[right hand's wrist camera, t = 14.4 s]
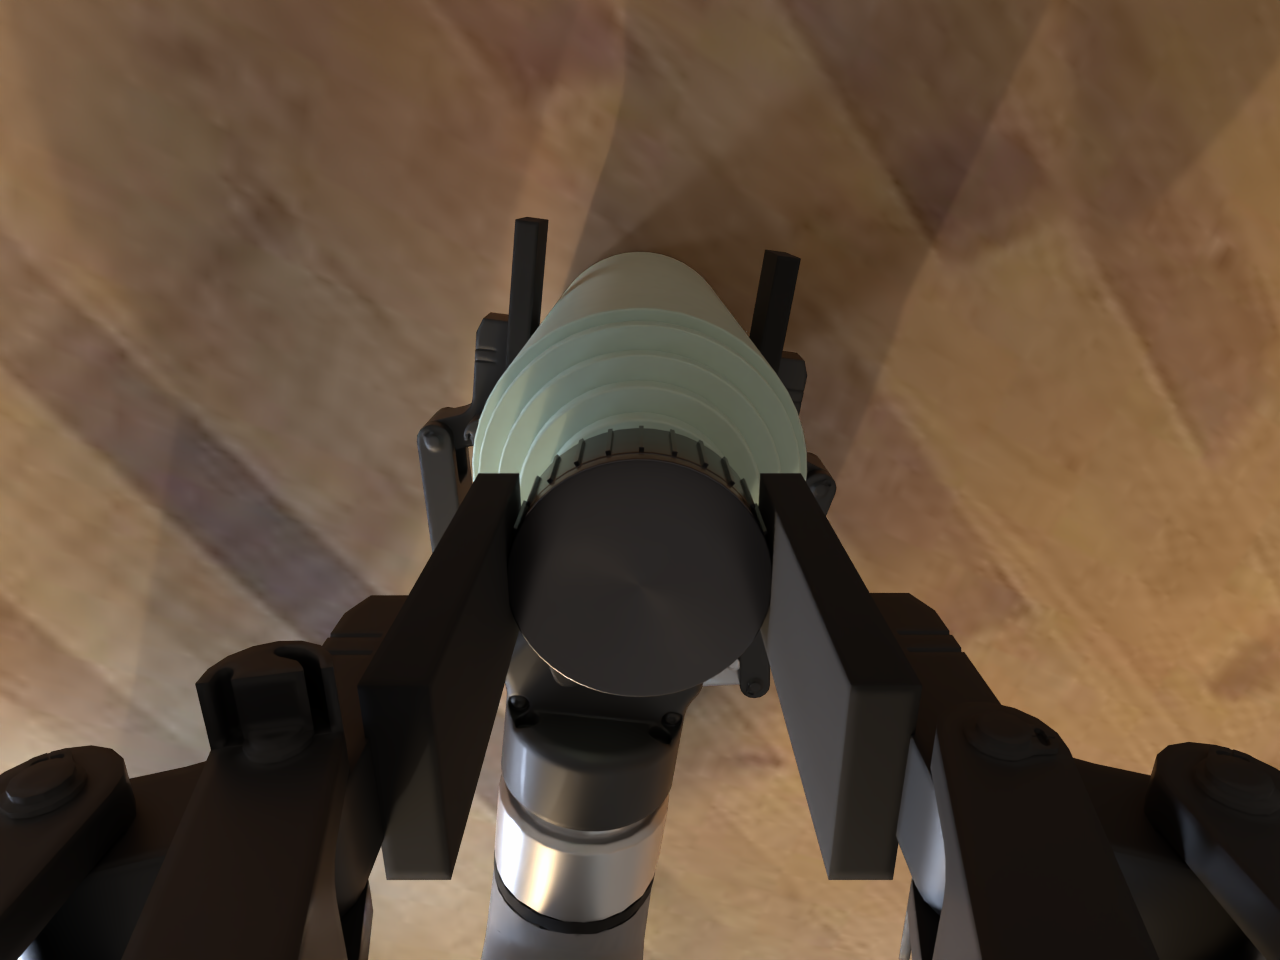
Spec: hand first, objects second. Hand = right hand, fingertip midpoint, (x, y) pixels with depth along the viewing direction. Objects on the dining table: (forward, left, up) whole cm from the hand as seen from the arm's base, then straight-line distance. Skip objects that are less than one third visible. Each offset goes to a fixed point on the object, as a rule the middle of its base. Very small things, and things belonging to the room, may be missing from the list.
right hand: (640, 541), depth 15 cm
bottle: (0, 0, -20) cm, 20 cm away
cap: (0, 0, +1) cm, 1 cm away
